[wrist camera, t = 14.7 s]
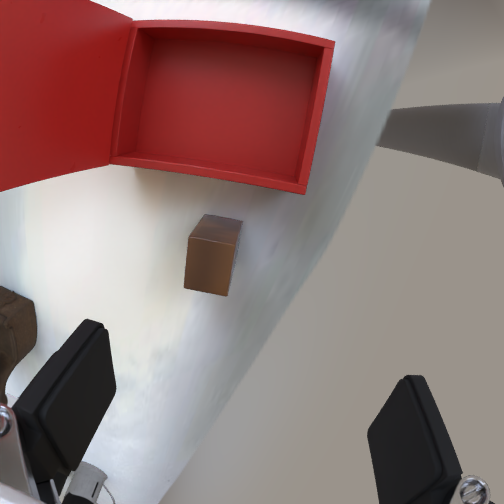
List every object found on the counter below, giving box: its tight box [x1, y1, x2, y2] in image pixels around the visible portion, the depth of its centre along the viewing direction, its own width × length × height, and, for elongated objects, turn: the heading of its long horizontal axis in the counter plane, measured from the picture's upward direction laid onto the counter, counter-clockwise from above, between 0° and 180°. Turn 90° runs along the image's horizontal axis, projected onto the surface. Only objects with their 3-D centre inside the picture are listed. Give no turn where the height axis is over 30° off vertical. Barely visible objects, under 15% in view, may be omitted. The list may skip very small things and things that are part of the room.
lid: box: [0, 0, 133, 192], centre depth 15 cm, size 18×14×5 cm
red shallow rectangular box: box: [109, 20, 335, 195], centre depth 26 cm, size 18×14×5 cm
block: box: [184, 214, 243, 296], centre depth 30 cm, size 4×5×7 cm
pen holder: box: [53, 471, 67, 496], centre depth 58 cm, size 9×9×10 cm
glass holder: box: [62, 462, 115, 504], centre depth 52 cm, size 9×14×15 cm, turn 85°
